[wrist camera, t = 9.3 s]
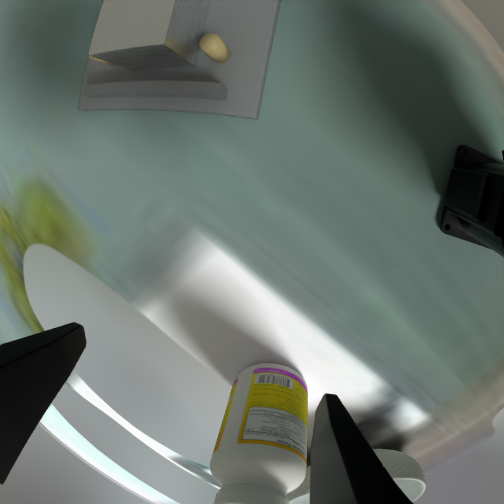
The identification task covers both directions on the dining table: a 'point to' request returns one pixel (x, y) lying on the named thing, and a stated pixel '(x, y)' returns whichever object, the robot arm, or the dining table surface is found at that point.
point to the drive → (150, 33)
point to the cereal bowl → (397, 466)
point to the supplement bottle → (262, 437)
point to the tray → (197, 69)
